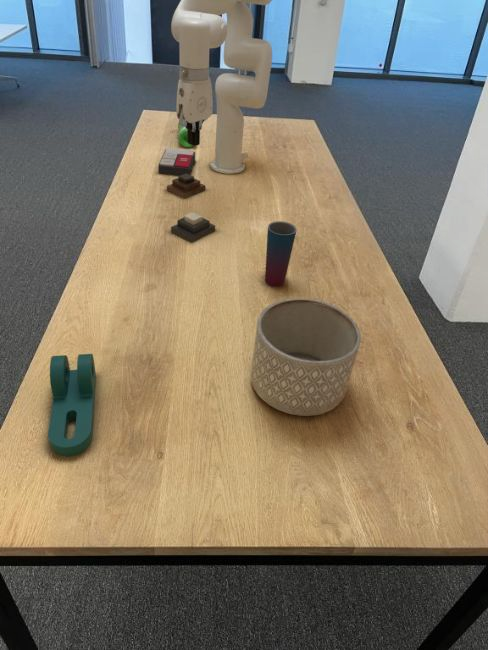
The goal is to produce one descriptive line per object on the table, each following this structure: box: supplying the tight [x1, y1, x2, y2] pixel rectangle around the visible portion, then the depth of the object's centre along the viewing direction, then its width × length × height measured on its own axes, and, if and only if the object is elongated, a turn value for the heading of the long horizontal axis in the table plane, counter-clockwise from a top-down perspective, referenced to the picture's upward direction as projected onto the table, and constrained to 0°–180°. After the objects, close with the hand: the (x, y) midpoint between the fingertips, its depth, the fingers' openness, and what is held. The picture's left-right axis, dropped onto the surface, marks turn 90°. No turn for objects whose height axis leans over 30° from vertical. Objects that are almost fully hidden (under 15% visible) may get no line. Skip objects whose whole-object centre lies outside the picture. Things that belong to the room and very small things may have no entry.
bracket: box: [47, 353, 97, 457], centre depth 86 cm, size 18×7×8 cm, turn 10°
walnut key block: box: [166, 177, 206, 199], centre depth 165 cm, size 10×8×4 cm
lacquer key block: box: [170, 216, 216, 243], centre depth 143 cm, size 10×8×4 cm
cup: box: [264, 220, 298, 287], centre depth 123 cm, size 7×7×15 cm
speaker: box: [177, 122, 193, 148], centre depth 201 cm, size 18×7×8 cm, turn 6°
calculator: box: [157, 148, 196, 177], centre depth 180 cm, size 11×4×15 cm
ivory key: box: [184, 211, 204, 225], centre depth 142 cm, size 4×4×2 cm
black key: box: [178, 174, 195, 184], centre depth 164 cm, size 4×4×2 cm
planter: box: [250, 297, 362, 417], centre depth 94 cm, size 19×19×14 cm
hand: (193, 144), depth 141 cm, fingers closed
